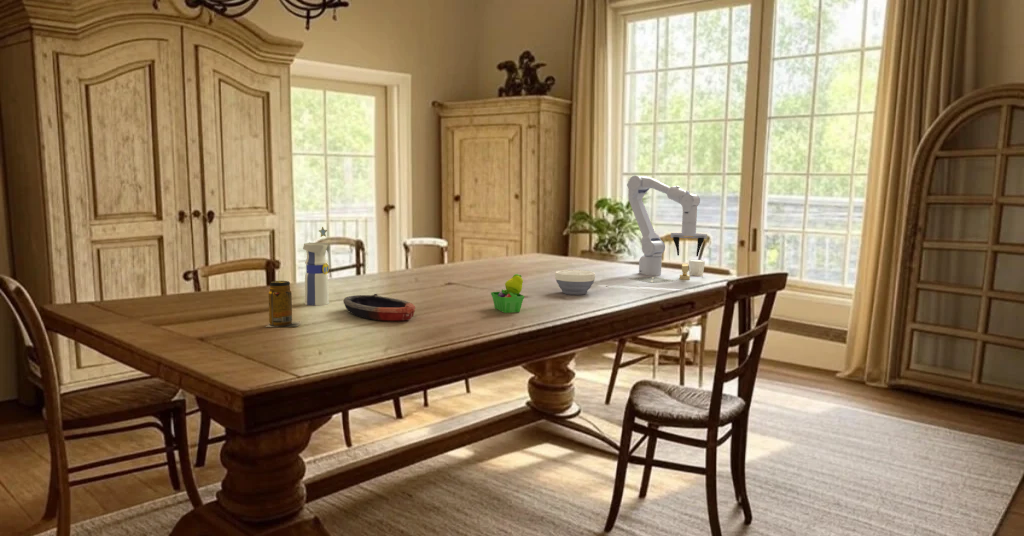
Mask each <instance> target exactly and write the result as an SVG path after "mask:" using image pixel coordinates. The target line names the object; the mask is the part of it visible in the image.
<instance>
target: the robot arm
mask: <svg viewBox="0 0 1024 536" xmlns="http://www.w3.org/2000/svg"><path fill="white" fill-rule="evenodd" d="M626 186H627V188H628V195H627V196H628V202H629V204H630V207H631V210H632V213H633V215H634V217H635V220H636V222H637V226H638V229H639V231H640V234H641V236H642V238H641V239H640V242H641V250H642V251H641V252H642V253H643V254H644V255H641V257H640V258H639V261H638V274H642V275H646V276H662V262H663V261H662V258H663V257H662V256H663V253H664V252H665V250H666V244H665V242H664V241H663V240H662V239H661V237H660V235H659V234H657V233H656V231H655V229H654V227H653V224H652V222H651V219H650V217H649V214H648V211H647V209H646V206H645V204H644V201H643V198H644V196H645V195H646V193H647V192H648V191H649V190H650V189H654V190H656V191H658V192H661V193H663V194H664V195H666V196H667V199H669V200H671V201H673V202H676V203H678V204H680V205H681V207H682V219H681V232H670V238H671V239H673V242H674V245H675V248H676V254H677V256H678V257H679V256H680V239H697V245H696V247H697V248H696V254H695V255H696V257H699V254H700V253H699V252H700V250H701V248H702V245H703V243H704V241H705V240H707V239H708V238H707V237H708V234H707V233H697V217H698V206H699V205H700V203H701V198H700V196H699V195H698V194H697V193H695V192H692V193H690V191H689V190H685V189H683V188H681V186H680V185H673V186H669V185H667V184H665V183H663V182H661V181H659V180H658V179H655V178H654V177H650V176H648V175H632V176H631V177H629V179H628V182H627V184H626Z"/></svg>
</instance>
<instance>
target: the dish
mask: <svg viewBox="0 0 1024 536" xmlns="http://www.w3.org/2000/svg"><path fill="white" fill-rule="evenodd" d="M343 304H344V307H345V309H346V311H348V312H349V313H350V314H351V315H354V316H356V317H359V318H363V319H368V320H371V321H372V320H374V321H380V322H381V321H382V322H401V321H408V320H411V319H412V318H413V317H414V315H415V311H416V305H415V304H413V303H412V302H410V301H407V300H402V299H398V298H393V297H388V296H381V295H379V294H378V293H373V294H372V295H367V294H359V295H358V294H357V295H350V296H346V297H344V298H343Z"/></svg>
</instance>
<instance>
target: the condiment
mask: <svg viewBox="0 0 1024 536" xmlns="http://www.w3.org/2000/svg"><path fill="white" fill-rule="evenodd" d="M290 284H291V282H290V281H289V280H273V281H270V282H269V291H268V321H269V323H268V324H267V325H265V328H283V327H289V328H290V327H298V326H299V325H301V324H302V322H303V321H293V305H292V304H293V302H292V300H293V299H292V297H293V296H292V291H291V285H290Z"/></svg>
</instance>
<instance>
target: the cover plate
mask: <svg viewBox="0 0 1024 536" xmlns="http://www.w3.org/2000/svg"><path fill="white" fill-rule="evenodd" d="M628 280H633V281H638V282H644V283H649V284H657V283H670V282H677V280H676V279H675V280H674V279H669V278H665V277H658V276H643V277H632V278H628Z"/></svg>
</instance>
